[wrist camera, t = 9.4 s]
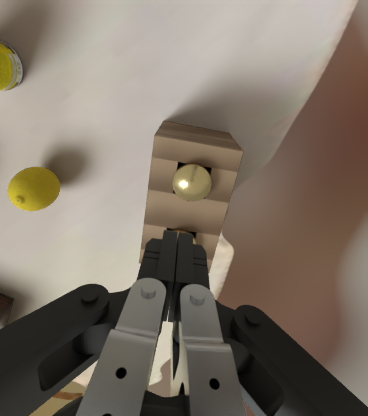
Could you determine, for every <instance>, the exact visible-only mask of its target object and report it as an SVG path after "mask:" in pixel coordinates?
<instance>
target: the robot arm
mask: <svg viewBox="0 0 368 416" xmlns="http://www.w3.org/2000/svg"><path fill="white" fill-rule="evenodd" d="M177 236H178V239H177ZM207 266H208V265H207V254H206V251H205V249H204V248H203V246H202V245H198V244H193V234H190V233H183V232H179V234H178V232H176V231H169V230H164V232H163V238H162V239H156V238H152V239H151V240H149V241H148V242H147V243H146V247H145V251H144V254H143V258H142V262H141V266H140V270H139V273H138V277H137V280H136V282H135V283H134V284H133V285H132V287H130V288H129V289H127V290H124V291H121V292H114V293H109V292H108V290H107V289H106V288H105V287H103V286H101V285H98V284H86V285H83V286H80V287H78V288H76V289H75V290H73V291H71V292H69V293H67V294H65V295H63V296H62V297H60V298H58V299H56V300H54V301H52V302H50V303H48V304H47V305H45V306H43V307H41V308H39V309H37V310H35V311H34V312H32V313H30V314H28V315H26V316H24V317H22V318H20V319H19V320H17V321H15V322H13V323H11V324H9V325H7V326H5V327H4V328H2V329H0V416H29V415H30V414H31V413H33V412H34V411H35V410H36V409H38V408H39V407H40V406H41V405H42V404H44V403H45V402H46V401H47V400H49V399H50V398H51V397H52V396H54V395H55V394H56V393H57V392H59V391H60V390H61V389H62V388H64V387H65V386H66V385H67V384H68V383H70V382H71V381H72V380H73V379H75V378H76V377H77V376H78V375H80V374H81V373H82V372H83V371H85V370H86V369H87V368H88V367H89V366H91V365H92V364H93V363H94V362H96V361H97V360H98V362H97V364H96V367H95V369H94V372H93V374H92V377H91V379H90V381H89V384H88V386H87V389H86V391H85V394H84V396H81V397H79V398H77V399H75V400H73V401H72V402H70V403H68V404H67V405H65V406H64V407H63V408H61V409H60V410H58V412H56V413H55V414H54V415H53V416H247V415H246V411H245V406H244V402H243V400H244V401H245V403H246V404H247V405H248V406H249V408H250V409H251V410H252V412H253V413H254V414H255V415H256V416H368V407H367V406H366V405H365V404H364V403H363V402H361V401H360V400H359V399H358V398H357V397H356V396H355V395H354V394H353V393H352V392H350V391H349V390H348V389H347V388H346V387H345V386H344V385H343V384H342V383H341V382H339V381H338V380H337V379H336V378H335V377H334V376H333V375H332V374H331V373H330V372H329V371H327V370H326V369H325V368H324V367H323V366H322V365H321V364H320V363H319V362H318V361H316V360H315V359H314V358H313V357H312V356H311V355H310V354H309V353H308V352H307V351H305V350H304V349H303V348H302V347H301V346H300V345H299V344H297V342H296V341H294V340H293V339H292V338H291V337H290V336H289V335H288V334H287V333H286V332H284V330H282V329H281V328H280V327H279V326H278V325H277V324H276V323H275V322H274V321H272V320H271V319H270V318H269V317H268V316H267V315H266V314H265V313H264V312H263V311H261V310H260V309H258V308H256V307H254V306H250V305H242V306H239V307H238V308H237V309H236V310H233V309H231V308H229V307H226V306H224V305H222V304H220V303H219V302H218V301H216V300H215V298H214V295H213V294H212V292H211V291H210V286H209V275H208V267H207ZM168 310H169V314H168ZM167 315H168V322H173V331H172V335H171V393H170V397H161V396H159V395H156V394H154V393H152V392H149V391H148V386H149V381H150V376H151V371H152V366H153V361H154V356H155V351H156V347H157V342H158V337H159V335H160V333H161V329H162V323H163V321H166V320H167Z"/></svg>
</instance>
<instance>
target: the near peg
mask: <svg viewBox="0 0 368 416" xmlns="http://www.w3.org/2000/svg"><path fill="white" fill-rule="evenodd" d="M211 184H212V182H211V177H210V174H209V172H208V171H207V169H206V168H205V167H204V166H202V165H200V164H196V163H182V162H180V165H179V168H178V170H177V171H176V172H175V174H174V177H173V189H174V191H175V193H176V195H177V196H178V197H179V198H181V199H183V200H185V201H188V202H195V201H199V200H201V199H203V198H205V197H206V196H207V195H208V193H209V192H210V189H211Z"/></svg>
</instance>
